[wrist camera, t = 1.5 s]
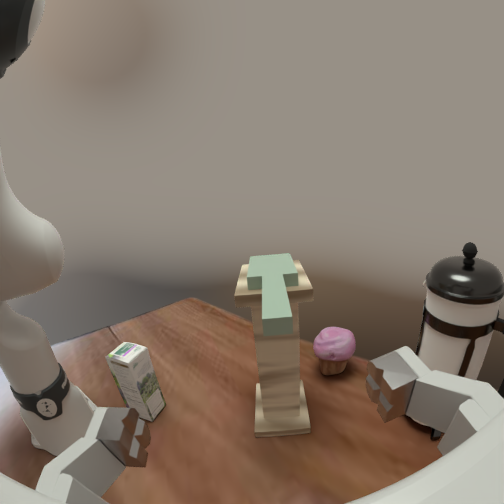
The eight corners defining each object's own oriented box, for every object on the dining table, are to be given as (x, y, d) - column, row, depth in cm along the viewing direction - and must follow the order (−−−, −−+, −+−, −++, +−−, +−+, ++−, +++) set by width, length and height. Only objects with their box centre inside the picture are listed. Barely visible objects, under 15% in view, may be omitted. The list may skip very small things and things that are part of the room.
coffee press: (388, 446, 29) (434, 259, 22) (394, 384, 43) (414, 231, 36) (481, 441, 21) (551, 260, 15) (469, 383, 35) (504, 233, 28)
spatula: (314, 331, 21) (314, 314, 21) (241, 337, 21) (239, 320, 21) (290, 263, 42) (289, 253, 41) (251, 266, 42) (250, 256, 41)
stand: (310, 432, 36) (313, 288, 30) (255, 437, 36) (234, 295, 31) (302, 385, 49) (298, 259, 43) (257, 389, 49) (242, 264, 43)
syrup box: (144, 398, 47) (122, 340, 43) (167, 404, 45) (146, 345, 42) (130, 414, 41) (103, 355, 38) (153, 423, 40) (127, 362, 37)
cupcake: (314, 358, 57) (314, 320, 55) (351, 357, 55) (354, 319, 53) (311, 382, 49) (312, 342, 47) (354, 382, 47) (358, 341, 44)
